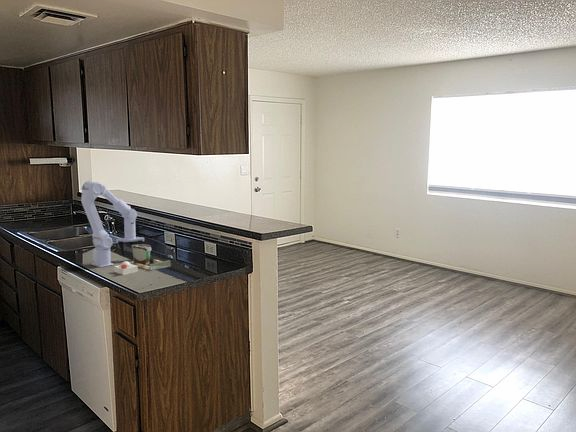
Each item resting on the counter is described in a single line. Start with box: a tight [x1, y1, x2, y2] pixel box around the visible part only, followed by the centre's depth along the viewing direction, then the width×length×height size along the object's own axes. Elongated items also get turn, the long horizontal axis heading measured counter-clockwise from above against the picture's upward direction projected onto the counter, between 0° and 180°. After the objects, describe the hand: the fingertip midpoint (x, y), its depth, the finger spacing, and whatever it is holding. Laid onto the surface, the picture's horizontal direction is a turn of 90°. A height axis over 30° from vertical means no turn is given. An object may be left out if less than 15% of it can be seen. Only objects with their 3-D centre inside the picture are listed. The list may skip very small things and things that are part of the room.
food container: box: [131, 243, 152, 266], centre depth 255 cm, size 12×6×10 cm, turn 57°
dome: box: [120, 260, 132, 268], centre depth 238 cm, size 5×5×5 cm
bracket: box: [134, 259, 172, 271], centre depth 251 cm, size 14×12×3 cm
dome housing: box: [113, 263, 139, 276], centre depth 238 cm, size 8×8×5 cm
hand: (130, 254), depth 263 cm, fingers open, 7 cm apart
